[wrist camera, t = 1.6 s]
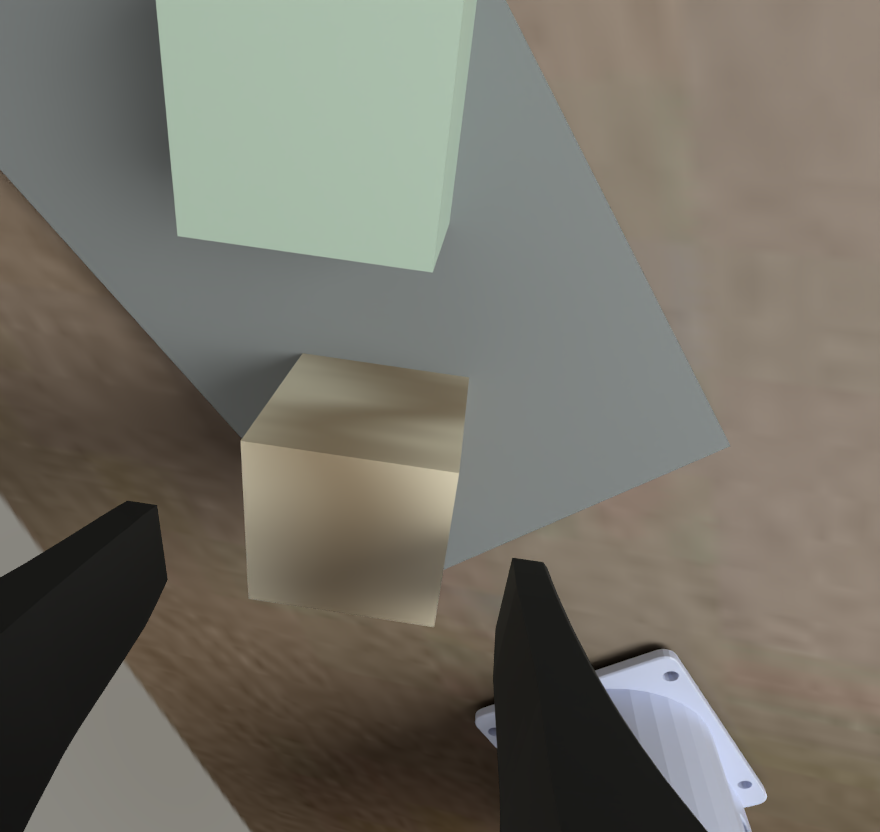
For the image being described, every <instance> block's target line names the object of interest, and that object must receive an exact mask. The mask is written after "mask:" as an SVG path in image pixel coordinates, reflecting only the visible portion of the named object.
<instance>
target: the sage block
mask: <svg viewBox="0 0 880 832" xmlns="http://www.w3.org/2000/svg"><path fill="white" fill-rule="evenodd" d="M476 4H477V0H156V9H157V20H158V30H159V41H160V52H161V63H162V74H163V84H164V95H165V106H166V117H167V128H168V138H169V149H170V160H171V171H172V181H173V192H174V203H175V214H176V225H177V235H178V236H180V237H187V238H194V239H201V240H208V241H215V242H222V243H229V244H236V245H243V246H250V247H257V248H264V249H271V250H278V251H285V252H292V253H299V254H306V255H313V256H320V257H327V258H334V259H341V260H348V261H355V262H362V263H369V264H376V265H383V266H390V267H397V268H404V269H411V270H418V271H425V272H432V273H433V270H434V267H435V264H436V261H437V258H438V255H439V252H440V250H441V247H442V244H443V241H444V238H445V235H446V232H447V229H448V226H449V223H450V215H451V206H452V198H453V190H454V182H455V174H456V166H457V158H458V150H459V142H460V134H461V126H462V117H463V109H464V101H465V93H466V85H467V77H468V69H469V61H470V53H471V45H472V37H473V28H474V20H475V12H476Z"/></svg>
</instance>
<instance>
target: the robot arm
mask: <svg viewBox="0 0 880 832" xmlns="http://www.w3.org/2000/svg"><path fill="white" fill-rule="evenodd" d="M166 582H167V573H166V565H165V558H164V551H163V544H162V537H161V530H160V523H159V516H158V509H157V505H152V504H145V503H139V502H132V501H126V502H124V503H123V504H121V505H119V506H117V507H116V508H114V509H112V510H111V511H109V512H108V513H106V514H104V515H103V516H101V517H99V518H98V519H96V520H95V521H93V522H91V523H90V524H88V525H87V526H85V527H83V528H82V529H80V530H79V531H77V532H76V533H74V534H72V535H71V536H69V537H68V538H66V539H64V540H63V541H61V542H59V543H58V544H56V545H54V546H53V547H51V548H50V549H48V550H46V551H45V552H43V553H41V554H40V555H38V556H36V557H35V558H33V559H32V560H30V561H28V562H27V563H25V564H23V565H22V566H20V567H18V568H16V569H14V570H13V571H11V572H9V573H7V574H6V575H4V576H2V577H0V832H23V831H24V829H25V827H26V825H27V823H28V821H29V819H30V817H31V815H32V813H33V811H34V809H35V807H36V805H37V804H38V801H39V800H40V798H41V796H42V794H43V792H44V790H45V788H46V786H47V785H48V783H49V781H50V779H51V777H52V775H53V773H54V771H55V769H56V767H57V766H58V764H59V762H60V759H61V758H62V756H63V754H64V753H65V751H66V749H67V747H68V746H69V744H70V742H71V741H72V739H73V737H74V736H75V734H76V733H77V731H78V729H79V728H80V726H81V725H82V723H83V721H84V720H85V718H86V717H87V715H88V714H89V712H90V711H91V709H92V708H93V706H94V705H95V703H96V702H97V700H98V698H99V697H100V695H101V694H102V692H103V691H104V689H105V688H106V686H107V685H108V683H109V682H110V680H111V679H112V677H113V676H114V674H115V673H116V671H117V669H118V668H119V666H120V665H121V663H122V662H123V660H124V659H125V657H126V656H127V654H128V652H129V651H130V649H131V648H132V646H133V645H134V643H135V642H136V640H137V638H138V637H139V635H140V634H141V632H142V630H143V629H144V627H145V626H146V624H147V622H148V620H149V618H150V616H151V614H152V612H153V610H154V608H155V606H156V604H157V601H158V599H159V597H160V595H161V593H162V591H163V588H164V586H165V584H166ZM493 685H494V703H495V704H493V705H490V706H487V707H484V708H481V709H480V710H478V711H477V712H476V715H475V724H476V726H477V728H478V729H479V730H480V731H481V732H482V733H483V734H484V735H485V736H486V737H487V738H488V739H489V741H490V742H491V743H492V744H493V745H494V746H495V747H496V748H497V755H498V772H499V789H500V832H752V831H751V828H750V825H749V822H748V819H747V816H746V813H745V810H744V808H745V807H749V806H754V805H758V804H761V803H763V802H764V801H765V800H766V798H767V794H766V792H765V789H764V786H763V785H762V783H761V782H760V780H759V779H758V777H757V776H756V774H755V773H754V771H753V770H752V768H751V767H750V765H749V764H748V762H747V760H746V759H745V757H744V756H743V754H742V753H741V751H740V750H739V748H738V747H737V745H736V744H735V742H734V741H733V739H732V738H731V736H730V735H729V733H728V732H727V730H726V729H725V727H724V726H723V724H722V723H721V721H720V720H719V718H718V717H717V715H716V714H715V712H714V711H713V709H712V708H711V706H710V705H709V703H708V701H707V700H706V698H705V697H704V695H703V694H702V692H701V691H700V689H699V688H698V686H697V685H696V683H695V682H694V680H693V679H692V677H691V676H690V674H689V673H688V671H687V670H686V668H685V667H684V665H683V664H682V662H681V661H680V659H679V658H678V656H677V655H676V654H675V653H674V652H673V651H671V650H668V649H659V650H655V651H652V652H649V653H646V654H643V655H640V656H637V657H634V658H631V659H628V660H625V661H622V662H619V663H616V664H613V665H610V666H607V667H604V668H601V669H598V670H594V668H593V667H592V665H591V663H590V661H589V659H588V657H587V655H586V653H585V651H584V649H583V648H582V646H581V644H580V642H579V640H578V638H577V636H576V634H575V632H574V630H573V628H572V626H571V624H570V621H569V619H568V617H567V615H566V613H565V610H564V608H563V606H562V604H561V602H560V599H559V597H558V595H557V592H556V590H555V587H554V585H553V582H552V580H551V577H550V574H549V572H548V569H547V567H546V566H545V564H544V563H543V562H537V561H531V560H524V559H517V558H512V562H511V566H510V570H509V575H508V579H507V583H506V587H505V591H504V596H503V600H502V604H501V608H500V612H499V617H498V621H497V625H496V631H495V650H494V671H493Z"/></svg>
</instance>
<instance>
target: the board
mask: <svg viewBox="0 0 880 832" xmlns="http://www.w3.org/2000/svg"><path fill="white" fill-rule="evenodd" d="M0 170H1V171H2V172H3V173H4V174H5V175H6V176H7V177H8V179H9V180H10V181H11V182H12V183H13V184H14V185H15V186H16V188H17V189H18V190H19V191H20V192H21V193H22V194H23V195H24V196H25V198H26V199H27V200H28V201H29V202H30V203H31V204H32V205H33V206H34V208H35V209H36V210H37V211H38V212H39V213H40V214H41V215H42V216H43V218H44V219H45V220H46V221H47V222H48V223H49V224H50V225H51V227H52V228H53V229H54V230H55V231H56V232H57V233H58V234H59V235H60V237H61V238H62V239H63V240H64V241H65V242H66V243H67V244H68V245H69V247H70V248H71V249H72V250H73V251H74V252H75V253H76V254H77V255H78V257H79V258H80V259H81V260H82V261H83V262H84V263H85V264H86V265H87V267H88V268H89V269H90V270H91V271H92V272H93V273H94V274H95V276H96V277H97V278H98V279H99V280H100V281H101V282H102V283H103V284H104V286H105V287H106V288H107V289H108V290H109V291H110V292H111V293H112V294H113V296H114V297H115V298H116V299H117V300H118V301H119V302H120V303H121V304H122V306H123V307H124V308H125V309H126V310H127V311H128V312H129V313H130V315H131V316H132V317H133V318H134V319H135V320H136V321H137V322H138V323H139V325H140V326H141V327H142V328H143V329H144V330H145V331H146V332H147V333H148V335H149V336H150V337H151V338H152V339H153V340H154V341H155V342H156V343H157V345H158V346H159V347H160V348H161V349H162V350H163V351H164V352H165V354H166V355H167V356H168V357H169V358H170V359H171V360H172V361H173V362H174V364H175V365H176V366H177V367H178V368H179V369H180V370H181V371H182V372H183V374H184V375H185V376H186V377H187V378H188V379H189V380H190V381H191V382H192V384H193V385H194V386H195V387H196V388H197V389H198V390H199V391H200V393H201V394H202V395H203V396H204V397H205V398H206V399H207V400H208V401H209V403H210V404H211V405H212V406H213V407H214V408H215V409H216V410H217V411H218V413H219V414H220V415H221V416H222V417H223V418H224V419H225V420H226V421H227V423H228V424H229V425H230V426H231V427H232V428H233V429H234V430H235V431H236V433H237V434H238V435H239V436H240V437H241V438H243V437H244V435H245V434H246V432H247V431H248V430H249V428H250V427H251V425H252V424H253V423H254V421H255V420H256V418H257V417H258V416H259V414H260V413H261V411H262V410H263V408H264V407H265V406H266V404H267V403H268V401H269V400H270V399H271V397H272V396H273V394H274V393H275V392H276V390H277V389H278V387H279V386H280V384H281V383H282V382H283V380H284V379H285V377H286V376H287V375H288V373H289V372H290V370H291V369H292V368H293V366H294V365H295V363H296V362H297V360H298V359H299V358H300V356H301V355H302V353H304V354H311V355H318V356H325V357H332V358H339V359H346V360H353V361H359V362H366V363H373V364H380V365H387V366H394V367H401V368H408V369H414V370H421V371H428V372H435V373H442V374H449V375H456V376H463V377H469V383H468V393H467V403H466V412H465V422H464V432H463V441H462V451H461V461H460V470H459V478H458V484H457V490H456V496H455V502H454V508H453V514H452V520H451V526H450V533H449V539H448V545H447V551H446V557H445V563H444V569H446V568H449V567H451V566H453V565H456V564H458V563H460V562H462V561H465V560H467V559H469V558H472V557H474V556H476V555H479V554H481V553H483V552H486V551H488V550H490V549H493V548H495V547H497V546H500V545H502V544H504V543H507V542H509V541H511V540H514V539H516V538H518V537H521V536H523V535H525V534H527V533H530V532H532V531H534V530H537V529H539V528H541V527H544V526H546V525H548V524H551V523H553V522H555V521H558V520H560V519H562V518H565V517H567V516H569V515H572V514H574V513H576V512H579V511H581V510H583V509H585V508H588V507H590V506H592V505H595V504H597V503H599V502H602V501H604V500H606V499H609V498H611V497H613V496H616V495H618V494H620V493H623V492H625V491H627V490H630V489H632V488H634V487H637V486H639V485H641V484H644V483H646V482H648V481H650V480H653V479H655V478H657V477H660V476H662V475H664V474H667V473H669V472H671V471H674V470H676V469H678V468H681V467H683V466H685V465H688V464H690V463H692V462H695V461H697V460H699V459H702V458H704V457H706V456H708V455H711V454H713V453H715V452H718V451H720V450H722V449H725V448H727V447H729V446H730V444H729V442H728V440H727V438H726V436H725V434H724V432H723V430H722V428H721V426H720V424H719V422H718V420H717V418H716V416H715V414H714V412H713V410H712V408H711V406H710V404H709V402H708V400H707V398H706V397H705V395H704V393H703V391H702V389H701V387H700V385H699V383H698V381H697V379H696V377H695V375H694V373H693V371H692V369H691V367H690V365H689V363H688V361H687V359H686V357H685V355H684V353H683V351H682V349H681V347H680V345H679V343H678V341H677V339H676V337H675V335H674V333H673V331H672V329H671V327H670V325H669V323H668V321H667V319H666V317H665V315H664V313H663V311H662V309H661V307H660V305H659V303H658V301H657V299H656V297H655V295H654V293H653V291H652V289H651V288H650V286H649V284H648V282H647V280H646V278H645V276H644V274H643V272H642V270H641V268H640V266H639V264H638V262H637V260H636V258H635V256H634V254H633V252H632V250H631V248H630V246H629V244H628V242H627V240H626V238H625V236H624V234H623V232H622V230H621V228H620V226H619V224H618V222H617V220H616V218H615V216H614V214H613V212H612V210H611V208H610V206H609V204H608V202H607V200H606V198H605V196H604V194H603V192H602V190H601V188H600V186H599V184H598V182H597V180H596V179H595V177H594V175H593V173H592V171H591V169H590V167H589V165H588V163H587V161H586V159H585V157H584V155H583V153H582V151H581V149H580V147H579V145H578V143H577V141H576V139H575V137H574V135H573V133H572V131H571V129H570V127H569V125H568V123H567V121H566V119H565V117H564V115H563V113H562V111H561V109H560V107H559V105H558V103H557V101H556V99H555V97H554V95H553V93H552V91H551V89H550V87H549V85H548V83H547V81H546V79H545V77H544V75H543V73H542V71H541V70H540V68H539V66H538V64H537V62H536V60H535V58H534V56H533V54H532V52H531V50H530V48H529V46H528V44H527V42H526V40H525V38H524V36H523V34H522V32H521V30H520V28H519V26H518V24H517V22H516V20H515V18H514V16H513V14H512V12H511V10H510V8H509V6H508V4H507V2H506V0H477V4H476V12H475V20H474V28H473V37H472V45H471V53H470V61H469V69H468V77H467V85H466V93H465V101H464V109H463V117H462V126H461V134H460V142H459V150H458V158H457V166H456V174H455V182H454V190H453V198H452V206H451V215H450V223H449V226H448V229H447V232H446V235H445V238H444V241H443V244H442V247H441V250H440V252H439V255H438V258H437V261H436V264H435V267H434V270H433V273H432V272H425V271H418V270H411V269H404V268H397V267H390V266H383V265H376V264H369V263H362V262H355V261H348V260H341V259H334V258H327V257H320V256H313V255H306V254H299V253H292V252H285V251H278V250H271V249H264V248H257V247H250V246H243V245H236V244H229V243H222V242H215V241H208V240H201V239H194V238H187V237H180V236H178V235H177V225H176V214H175V203H174V192H173V181H172V171H171V160H170V149H169V138H168V128H167V117H166V106H165V95H164V84H163V74H162V63H161V52H160V41H159V30H158V20H157V9H156V0H0ZM444 569H443V570H444Z"/></svg>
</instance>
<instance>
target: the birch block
mask: <svg viewBox="0 0 880 832" xmlns="http://www.w3.org/2000/svg"><path fill="white" fill-rule="evenodd" d="M468 383H469V377H463V376H456V375H449V374H442V373H435V372H428V371H421V370H414V369H408V368H401V367H394V366H387V365H380V364H373V363H366V362H359V361H353V360H346V359H339V358H332V357H325V356H318V355H311V354H304V353H302V355H301V356H300V358H299V359H298V360H297V362H296V363H295V365H294V366H293V368H292V369H291V370H290V372H289V373H288V375H287V376H286V377H285V379H284V380H283V382H282V383H281V384H280V386H279V387H278V389H277V390H276V392H275V393H274V394H273V396H272V397H271V399H270V400H269V401H268V403H267V404H266V406H265V407H264V408H263V410H262V411H261V413H260V414H259V416H258V417H257V418H256V420H255V421H254V423H253V424H252V425H251V427H250V428H249V430H248V431H247V432H246V434H245V435H244V437H243V438H242V439H241V460H242V480H243V499H244V519H245V539H246V559H247V579H248V598H249V599H254V600H260V601H267V602H273V603H280V604H286V605H293V606H299V607H306V608H313V609H319V610H326V611H332V612H339V613H345V614H352V615H358V616H365V617H372V618H378V619H385V620H391V621H398V622H404V623H411V624H417V625H424V626H431V627H434V624H435V618H436V612H437V606H438V600H439V594H440V587H441V581H442V575H443V569H444V563H445V557H446V551H447V545H448V539H449V533H450V526H451V520H452V514H453V508H454V502H455V496H456V490H457V484H458V478H459V470H460V461H461V451H462V441H463V432H464V422H465V412H466V403H467V393H468Z"/></svg>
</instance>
